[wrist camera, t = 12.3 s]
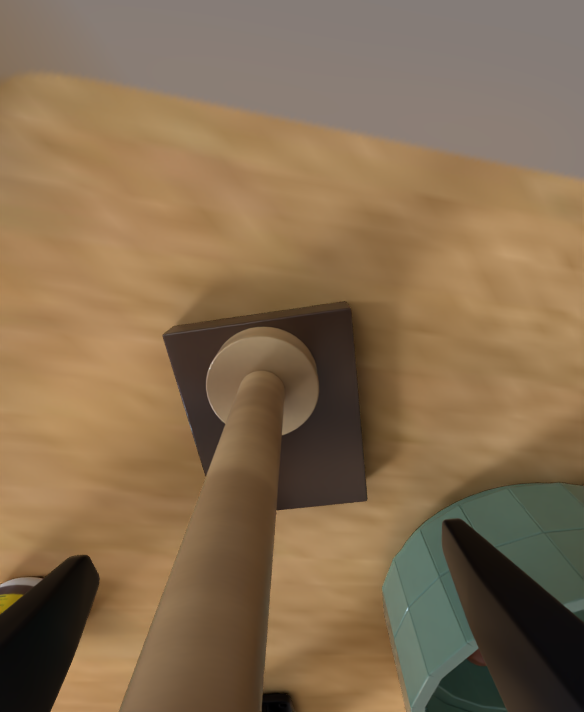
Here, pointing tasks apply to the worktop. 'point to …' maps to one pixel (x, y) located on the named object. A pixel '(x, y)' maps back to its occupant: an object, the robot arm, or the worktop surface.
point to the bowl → (441, 601)
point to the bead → (477, 658)
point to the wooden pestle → (228, 537)
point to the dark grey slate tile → (319, 432)
